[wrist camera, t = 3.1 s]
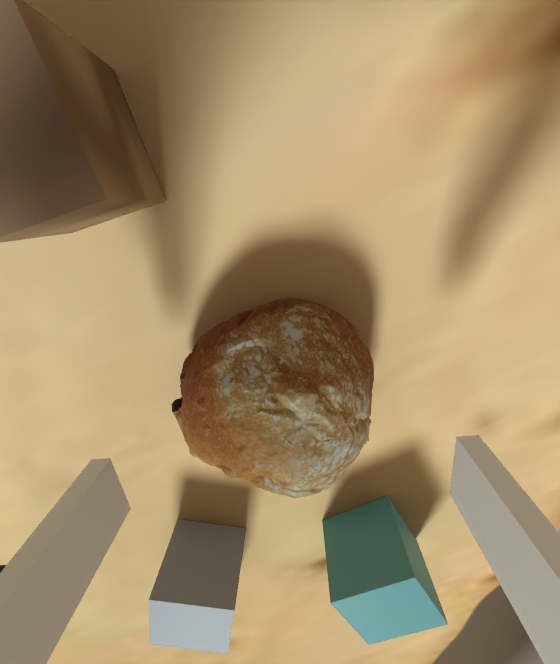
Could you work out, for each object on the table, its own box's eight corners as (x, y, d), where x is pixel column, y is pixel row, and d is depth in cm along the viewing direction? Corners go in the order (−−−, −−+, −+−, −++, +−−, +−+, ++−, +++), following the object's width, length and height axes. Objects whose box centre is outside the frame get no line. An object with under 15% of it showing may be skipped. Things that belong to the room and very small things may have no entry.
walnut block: (10, 114, 13) (-144, 64, 8) (115, 70, 12) (9, -9, 8) (73, 232, 15) (-26, 245, 10) (167, 200, 14) (106, 199, 9)
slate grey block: (178, 518, 22) (148, 599, 18) (246, 527, 22) (234, 610, 18) (176, 560, 24) (150, 644, 20) (239, 568, 24) (227, 653, 20)
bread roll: (333, 406, 23) (419, 486, 16) (194, 465, 19) (225, 599, 12) (318, 273, 19) (423, 300, 12) (143, 319, 16) (145, 392, 9)
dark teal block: (322, 519, 22) (330, 602, 17) (387, 494, 21) (414, 577, 16) (353, 558, 24) (368, 644, 19) (415, 537, 22) (447, 624, 18)
